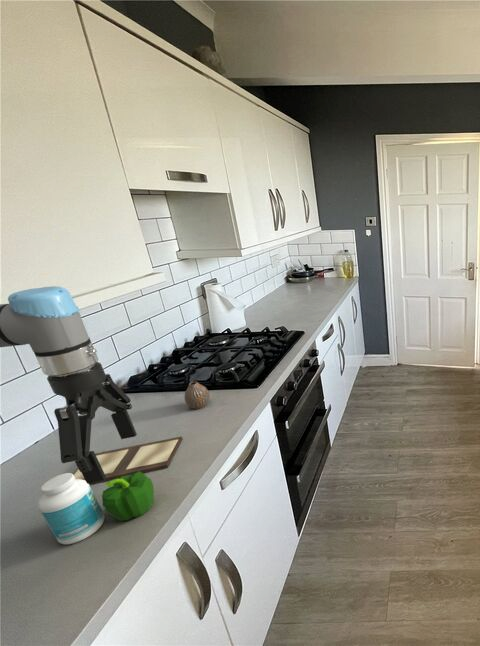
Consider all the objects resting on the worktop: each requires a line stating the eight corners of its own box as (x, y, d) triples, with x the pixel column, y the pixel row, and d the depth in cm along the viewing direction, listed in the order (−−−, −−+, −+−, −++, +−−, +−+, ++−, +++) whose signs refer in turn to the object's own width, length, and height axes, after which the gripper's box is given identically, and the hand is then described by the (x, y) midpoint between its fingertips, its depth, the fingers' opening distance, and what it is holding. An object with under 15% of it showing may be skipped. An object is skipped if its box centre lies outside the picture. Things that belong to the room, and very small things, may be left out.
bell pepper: (163, 490, 84) (150, 457, 80) (154, 517, 77) (139, 483, 73) (120, 503, 81) (104, 469, 77) (106, 532, 74) (88, 497, 70)
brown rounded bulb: (214, 404, 118) (208, 382, 115) (191, 414, 113) (184, 391, 110) (207, 397, 122) (201, 375, 119) (185, 406, 117) (177, 384, 114)
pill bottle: (113, 521, 76) (89, 474, 71) (69, 552, 70) (40, 501, 65) (95, 510, 79) (71, 463, 74) (51, 538, 73) (23, 489, 68)
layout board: (63, 490, 85) (61, 486, 84) (91, 457, 95) (89, 453, 95) (167, 467, 91) (166, 464, 91) (182, 439, 102) (181, 435, 101)
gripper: (55, 398, 56) (104, 497, 63) (127, 340, 78) (157, 418, 86) (-5, 408, 54) (53, 509, 61) (87, 345, 76) (121, 425, 83)
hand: (114, 457), depth 73 cm, fingers open, 13 cm apart
